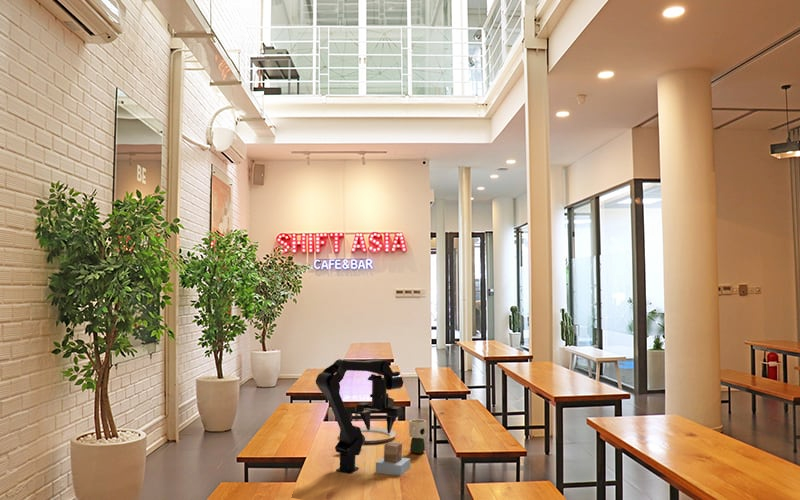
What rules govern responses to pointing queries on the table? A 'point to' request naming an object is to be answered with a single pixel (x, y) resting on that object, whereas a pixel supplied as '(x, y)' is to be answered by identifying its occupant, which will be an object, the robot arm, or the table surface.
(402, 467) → the slate block
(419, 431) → the character mug
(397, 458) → the walnut block
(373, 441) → the plate
